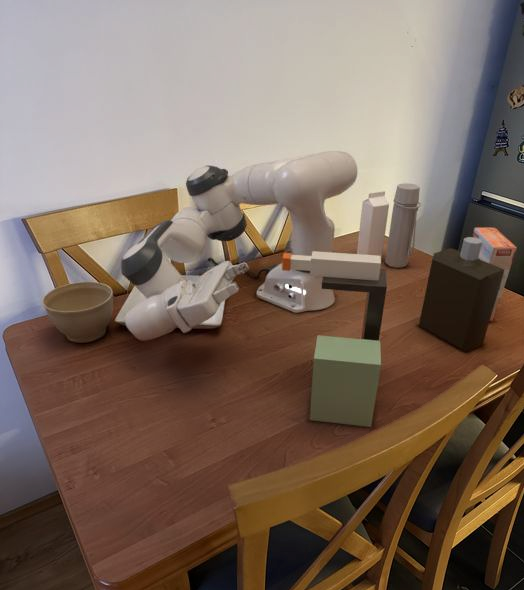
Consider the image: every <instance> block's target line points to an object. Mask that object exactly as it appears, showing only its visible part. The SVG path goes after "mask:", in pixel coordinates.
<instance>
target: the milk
mask: <svg viewBox="0 0 524 590" xmlns="http://www.w3.org/2000/svg"><path fill="white" fill-rule="evenodd" d="M389 210H390V203H389V201H388V199H387V198H386V191H376V192H370V193H369V194H368V198H366V199H364V200H362V201H361V210H360V211H361V213H360V222H359V230H358V240H357V248H356V254H361V255H377V256H381V260H382V259H383V253H384V252H383V251H384V245H385V237H386V230H387V223H388V217H389Z"/></svg>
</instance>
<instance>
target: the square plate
mask: <svg viewBox="0 0 524 590" xmlns="http://www.w3.org/2000/svg"><path fill="white" fill-rule="evenodd" d="M181 275H182V277H183V278H184V279H185V280H191V281H192V282H198V280H199V279H200V277H201V276H202V275H192V274H191V275H188V274H181ZM145 299H147V298H146V297H145V296H144V295H143V294H142V293H141V292H140V291H139V290H138V289H137V288H136V286H135V285H133V288H132V290H131V291H130V293H129V295H128V297H127V298H126V299H125V301H124V303H123V305H122V306H121V308H120V310H119V311H118V314H117V315H116V317H115V319H114V322H115V323H117V324H119V325H122V326H125V327H127V326H126V324H125V321H124V315H125V313H126V312H127V311H128V310H130V309H131V308H132V307H134V306H135V305H137V304H139V303H140V302H142V301H144V300H145ZM225 304H226V300H224V301H223V302H221V304H220V306H219V308H218V310H217V312H216V313H215V314H214V315H213V316H212V317H211V318H209V319H208V320H206V321H204V322H202V323H200V324H198V325H196V326H194V327H193V328H192V329H202V330H203V329H205V330H206V329H207V330H209V329H216V328H218V327H220V326H221V325H222V322H223V317H224V311H225ZM175 329H180V328H179V327H176V328H175Z"/></svg>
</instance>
